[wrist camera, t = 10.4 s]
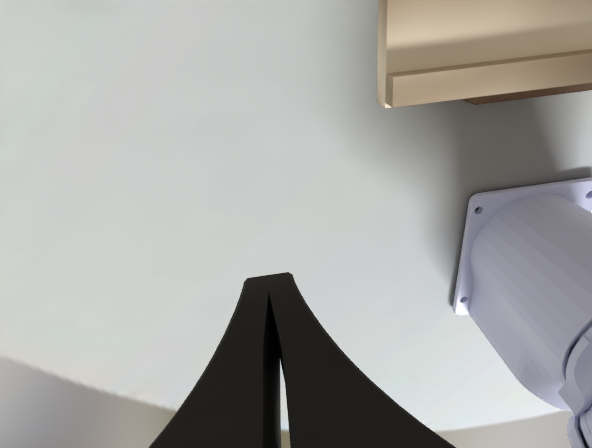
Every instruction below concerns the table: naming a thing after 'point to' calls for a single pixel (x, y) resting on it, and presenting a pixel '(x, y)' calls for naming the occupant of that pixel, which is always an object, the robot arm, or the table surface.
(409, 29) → the balance beam
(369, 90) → the table surface
